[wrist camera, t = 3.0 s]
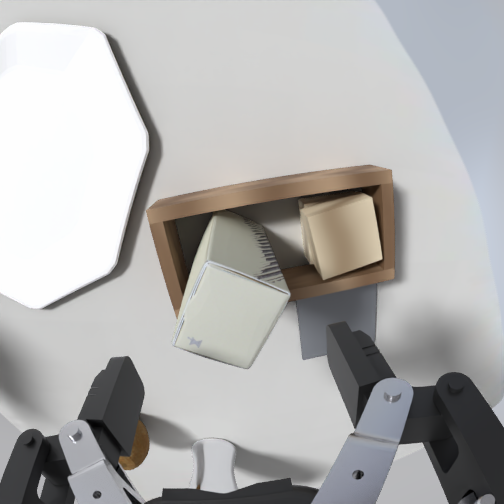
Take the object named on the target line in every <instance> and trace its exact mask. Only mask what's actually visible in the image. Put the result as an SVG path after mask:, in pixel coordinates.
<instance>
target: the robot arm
mask: <svg viewBox="0 0 504 504" xmlns="http://www.w3.org/2000/svg"><path fill="white" fill-rule="evenodd" d="M326 338H327V357H328V363H329V367H330V370H331V372H332V374H333V377H334V379H335V382H336V384H337V386H338V389H339V391H340V394H341V396H342V399H343V401H344V403H345V406H346V408H347V411H348V413H349V416H350V418H351V421H352V423H353V426H354V428H355V431H354V433H351V434H350V435H349V436H348V438H347V440H346V442H345V444H344V446H343V448H342V450H341V451H340V453H339V455H338V457H337V459H336V461H335V463H334V465H333V467H332V468H331V470H330V472H329V474H328V476H327V477H326V479H325V481H324V483H323V484H322V486H321V488H320V490H319V489H316V488H312V487H307V486H300V485H292V483H291V478H287V479H281V480H275V481H268V482H262V483H256V484H254V485H251V486H248V487H245V488H242V489H238V490H235V491H232V492H229V493H217V492H210V491H204V490H199V489H193V488H185V489H164V488H163V492H162V497H158V498H155V499H152V500H150V501H147V502H146V501H145V500H144V499H143V498H142V497H141V495H140V494H139V492H138V491H137V489H136V488H135V486H134V485H133V483H132V482H131V480H130V479H129V477H128V476H127V474H126V472H125V471H124V469H123V468H122V466H121V465H120V463H119V457H120V456H124V457H130V455H131V451H132V446H133V442H134V437H135V433H136V429H137V424H138V420H139V416H140V412H141V408H142V404H143V400H144V394H145V392H144V386H143V383H142V381H141V379H140V377H139V375H138V373H137V371H136V369H135V366H134V364H133V362H132V360H131V359H130V357H128V356H125V357H113V358H111V359H110V360H109V363H108V365H107V367H106V370H102V371H101V372H100V373H99V374H98V375H97V376H96V377H95V379H94V381H93V383H92V386H91V389H90V390H89V393H88V396H87V397H86V400H85V402H84V404H83V407H82V409H81V412H80V414H79V416H78V419H77V420H74V421H71V422H69V423H67V424H66V425H64V426H63V428H62V429H61V431H60V433H59V435H54V436H49V437H44V436H43V435H42V433H41V432H40V431H39V430H37V429H29V430H26V431H25V432H23V433H22V434H21V435H20V436H19V438H18V439H17V442H16V444H15V446H14V449H13V451H12V454H11V456H10V459H9V461H8V464H7V466H6V469H5V472H4V474H3V477H2V480H1V483H0V504H74V500H75V498H76V500H77V502H78V504H375V503H376V501H377V499H378V496H379V494H380V492H381V490H382V487H383V485H384V482H385V480H386V477H387V475H388V472H389V470H390V466H391V465H392V462H393V459H394V457H395V454H396V451H397V448H398V445H399V444H411V443H421V442H423V444H424V447H425V449H426V451H427V453H428V456H429V458H430V460H431V462H432V464H433V467H434V469H435V471H436V474H437V476H438V478H439V480H440V483H441V486H442V488H443V490H444V493H445V495H446V497H447V500H448V502H449V504H504V427H503V426H502V424H501V423H500V421H499V420H498V418H497V417H496V415H495V414H494V412H493V411H492V409H491V408H490V406H489V405H488V403H487V402H486V400H485V399H484V397H483V396H482V395H481V393H480V392H479V390H478V389H477V388H476V386H475V385H474V383H473V382H472V381H471V379H470V378H469V377H467V376H466V375H464V374H462V373H457V372H452V373H447V374H445V375H443V376H441V377H440V378H439V380H438V381H437V384H436V385H435V386H425V387H412V386H411V385H410V384H409V383H408V382H407V381H405V380H402V379H399V378H396V376H395V375H394V373H393V371H392V370H391V368H390V367H389V365H388V364H387V362H386V360H385V359H384V357H383V356H382V354H381V353H380V351H379V350H378V348H377V346H375V343H374V342H373V340H372V339H371V337H370V336H369V335H367V334H366V333H364V332H362V331H361V330H358V331H354V332H352V331H351V329H350V328H349V326H348V324H347V323H346V321H342V322H338V323H333V324H329V325H327V326H326ZM41 474H42V475H43V476H44V477H45V478H46V479H45V483H44V486H43V490H42V494H41V497H40V499H39V497H38V494H37V487H38V484H39V480H40V477H41Z"/></svg>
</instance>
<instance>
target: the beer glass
mask: <svg viewBox="0 0 504 504" xmlns="http://www.w3.org/2000/svg"><path fill="white" fill-rule="evenodd" d="M191 451H192V458H193V474H192V477H191V481H190V485H189V488H193V489H199V490H204V491H210V492H217V493H229V492H232V491H235V490H238V486H237V483H236V479H235V474H234V462H235V457H236V448H235V446H234V445H233V444H232V443H230V442H228V441H226V440H223V439H218V438H206V439H201V440H199V441H197V442H195V443H194V444H193V445H192V448H191Z"/></svg>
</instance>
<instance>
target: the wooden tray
mask: <svg viewBox="0 0 504 504" xmlns="http://www.w3.org/2000/svg"><path fill="white" fill-rule="evenodd" d="M358 187H362V193H364V194H366V195H368V196H370V197H372V200H373V205H374V210H375V216H376V221H377V227H378V233H379V239H380V245H381V252H382V260H379V261H376V262H373V263H371V264H368V265H365V266H362V267H359V268H357V269H354V270H351V271H348V272H345V273H343V274H340V275H337V276H334V277H331V278H328V279H325V280H323V279H322V277H321V276H320V274H319V273H318V271H317V270H316V268H315V265H314V264H311V265H310V264H308V265H303V266H298V267H292V268H287V269H282V270H281V272H282V274H283V277H284V279H285V281H286V284H287V286H288V289H289V291H290V294H291V295H290V298H289V300H288V302H290V301H296V300H301V299H306V298H310V297H315V296H320V295H325V294H330V293H334V292H339V291H344V290H348V289H353V288H357V287H361V286H366V285H370V284H374V283H379V282H383V281H387V280H391V279H394V273H395V222H394V196H393V180H392V170H390V169H386V168H382V167H378V166H373V165H363V166H354V167H346V168H338V169H330V170H323V171H315V172H308V173H301V174H295V175H288V176H282V177H275V178H269V179H263V180H257V181H251V182H246V183H240V184H235V185H229V186H224V187H218V188H213V189H208V190H203V191H198V192H193V193H188V194H184V195H179V196H174V197H170V198H165V199H161V200H158V201H156V202H155V203H154V204H153V205H152V206H151V207H150V208H149V209H147V210H146V213H147V217H148V221H149V225H150V229H151V232H152V236H153V240H154V244H155V247H156V251H157V255H158V258H159V262H160V265H161V269H162V272H163V276H164V279H165V282H166V286H167V289H168V292H169V295H170V299H171V302H172V305H173V308H174V311H175V314H176V318H177V319H178V315H179V311H180V307H181V304H182V300H183V296H184V293H185V289H186V286H187V282H188V279H189V275H188V271H187V267H186V263H185V259H184V255H183V251H182V247H181V243H180V239H179V235H178V231H177V227H176V223H175V219H177V218H182V217H187V216H192V215H197V214H202V213H207V212H212V211H218V210H223V209H228V208H234V207H239V206H245V205H250V204H256V203H262V202H268V201H273V200H279V199H285V198H291V197H298V196H304V195H310V194H317V193H323V192H330V191H337V190H344V189H351V188H358Z"/></svg>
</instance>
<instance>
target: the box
mask: <svg viewBox="0 0 504 504" xmlns="http://www.w3.org/2000/svg"><path fill="white" fill-rule="evenodd" d="M290 295H291V294H290V291H289V289H288V286H287V284H286V281H285V279H284V277H283V274H282V272H281V270H280V267H279V265H278V262H277V260H276V257H275V255H274V252H273V250H272V248H271V245H270V243H269V241H268V238H267V236H266V233H265V231H264V228H263V226H262V225H260V224H257V223H255V222H253V221H251V220H249V219H246V218H244V217H242V216H240V215H237V214H235V213H232V212H230V211H227V210H224V209H223V210H218V211H214V212H213V214H212V216H211V218H210V221H209V223H208V225H207V227H206V230H205V232H204V234H203V237H202V239H201V242H200V244H199V247H198V249H197V252H196V255H195V257H194V261H193V265H192V269H191V272H190V276H189V279H188V282H187V286H186V289H185V293H184V296H183V300H182V304H181V307H180V311H179V315H178V319H177V323H176V327H175V330H174V334H173V339H172V345H173V346H174V347H176V348H178V349H181V350H184V351H187V352H190V353H193V354H196V355H199V356H202V357H205V358H208V359H211V360H215V361H218V362H222V363H225V364H229V365H232V366H236V367H240V368H244V369H249V368H250V367H251V366H252V364H253V362H254V361H255V359H256V358H257V356H258V355H259V353H260V351H261V349H262V348H263V346H264V344H265V343H266V341H267V339H268V338H269V336H270V334H271V332H272V331H273V329H274V327H275V325H276V323H277V322H278V320H279V318H280V316H281V314H282V312H283V310H284V308H285V306H286V304H287V302H288V300H289V298H290Z"/></svg>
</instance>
